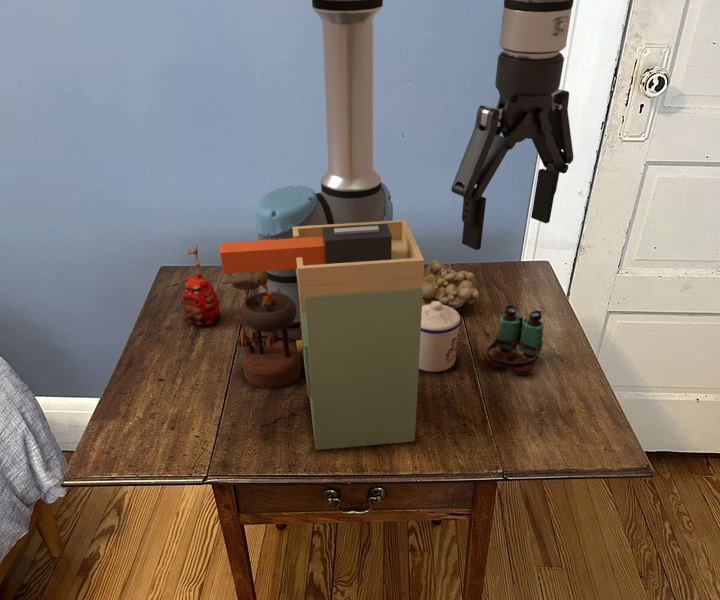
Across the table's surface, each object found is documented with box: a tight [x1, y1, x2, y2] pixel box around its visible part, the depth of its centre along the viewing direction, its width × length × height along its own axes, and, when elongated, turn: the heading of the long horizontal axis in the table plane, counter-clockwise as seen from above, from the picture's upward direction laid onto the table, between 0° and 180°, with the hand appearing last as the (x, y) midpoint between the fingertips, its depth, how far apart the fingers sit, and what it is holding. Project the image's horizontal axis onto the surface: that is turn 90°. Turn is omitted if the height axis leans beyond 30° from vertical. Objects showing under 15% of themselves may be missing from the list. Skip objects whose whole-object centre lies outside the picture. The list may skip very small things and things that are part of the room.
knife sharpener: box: [219, 224, 392, 275], centre depth 93 cm, size 4×23×4 cm, turn 97°
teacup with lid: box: [419, 301, 462, 373], centre depth 124 cm, size 12×9×12 cm
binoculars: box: [486, 304, 544, 377], centre depth 122 cm, size 9×11×10 cm
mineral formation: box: [422, 259, 480, 310], centre depth 139 cm, size 8×13×15 cm
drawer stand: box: [292, 219, 425, 451], centre depth 103 cm, size 14×18×30 cm
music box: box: [222, 271, 302, 389], centre depth 119 cm, size 15×11×20 cm
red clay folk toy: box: [180, 242, 221, 327], centre depth 134 cm, size 8×7×15 cm
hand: (506, 232), depth 93 cm, fingers open, 13 cm apart
